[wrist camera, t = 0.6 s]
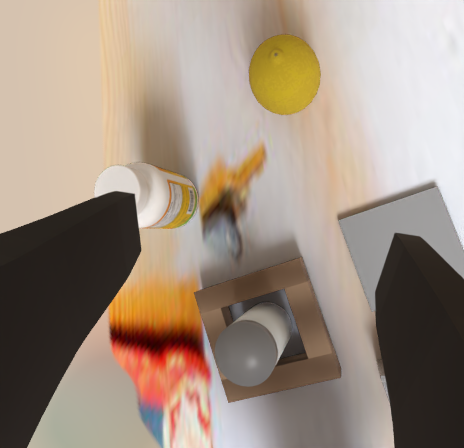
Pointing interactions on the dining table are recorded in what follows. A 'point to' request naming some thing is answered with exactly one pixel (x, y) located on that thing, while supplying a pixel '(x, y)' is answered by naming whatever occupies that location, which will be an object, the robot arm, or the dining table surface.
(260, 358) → the cylinder
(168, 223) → the supplement bottle
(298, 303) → the walnut housing
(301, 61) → the lemon
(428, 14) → the dining table surface
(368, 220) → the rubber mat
